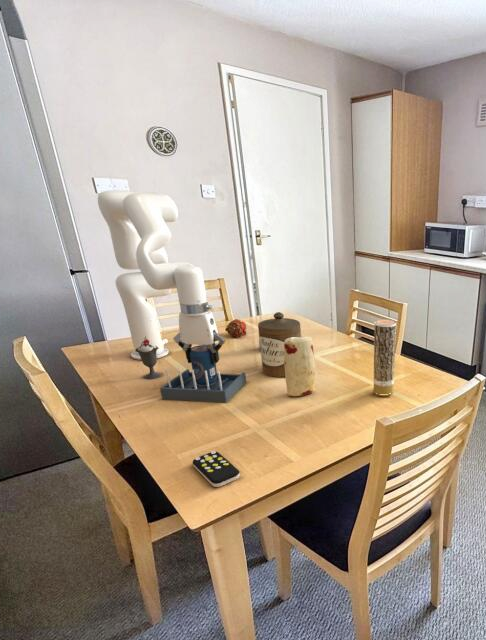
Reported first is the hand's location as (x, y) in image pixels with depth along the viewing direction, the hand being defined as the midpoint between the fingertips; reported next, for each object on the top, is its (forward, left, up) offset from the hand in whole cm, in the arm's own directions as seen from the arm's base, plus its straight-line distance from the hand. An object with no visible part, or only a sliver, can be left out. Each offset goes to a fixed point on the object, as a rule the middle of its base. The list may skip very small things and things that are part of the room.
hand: (203, 362), depth 132 cm
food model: (0, +31, -10) cm, 33 cm away
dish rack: (+1, 0, -10) cm, 10 cm away
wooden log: (-4, +58, -10) cm, 59 cm away
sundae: (-8, -23, -10) cm, 26 cm away
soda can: (0, 0, -7) cm, 7 cm away
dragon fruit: (-57, -14, -10) cm, 60 cm away
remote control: (+44, +23, -10) cm, 51 cm away
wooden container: (-20, +19, -10) cm, 29 cm away
